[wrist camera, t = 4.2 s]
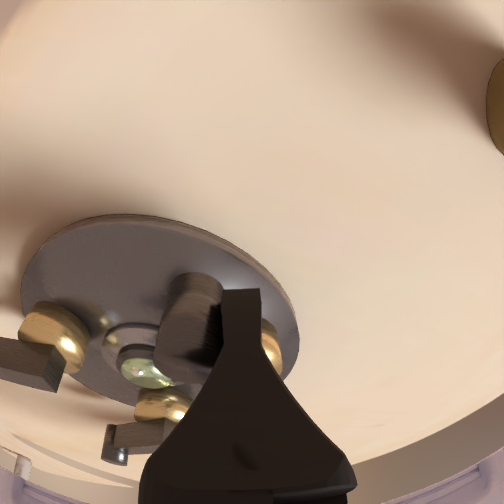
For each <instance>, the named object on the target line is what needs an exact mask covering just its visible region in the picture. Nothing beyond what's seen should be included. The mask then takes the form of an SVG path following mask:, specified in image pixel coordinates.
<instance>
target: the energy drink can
mask: <svg viewBox="0 0 504 504" xmlns="http://www.w3.org/2000/svg"><path fill="white" fill-rule="evenodd" d="M31 465H32V462H31V460H30V459H28V458H26V457H25V456H22V455H20V454H19V455H18V456H17V460H16V465H15V469H14V474H16V475H18V476H20V477H22V478H23V479H25V480H27V481H28V480H29V474H30V469H31Z"/></svg>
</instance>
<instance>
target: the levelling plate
mask: <svg viewBox="0 0 504 504" xmlns="http://www.w3.org/2000/svg"><path fill="white" fill-rule="evenodd" d="M188 272H200V273H204V274H207V275H210V276H212V277H214V278H215V279H217V280H218V281H219V282H220V283H221V284H222V286H223V288H224V289H247V288H260V294H261V301H262V318H263V319H265V320H267V321H269V322H270V323H271V324H272V325H273V326H274V327H275V328H276V330H277V332H278V337H279V344H280V352H281V359H282V372H281V374H280V375H279V376H280V378H281V379H282V381H283V380H284V379H285V378H286V377H287V375H288V374H289V373H290V372H291V370H292V368H293V366H294V364H295V362H296V359H297V356H298V352H299V332H298V327H297V322H296V317H295V312H294V309H293V307H292V305H291V302H290V300H289V297H288V296H287V294H286V293H285V291H284V290H283V288H282V287H281V285H280V283H279V282H278V281H277V280H276V279H275V278H274V277H273V276H272V274H271V273H270V272H269V271H268V270H267V269H266V268H265V267H264V266H262V265H261V264H260V263H259V262H258V261H256V260H255V259H254V258H253V257H252V256H250V255H249V254H247V253H246V252H244V251H243V250H241V249H240V248H238V247H236V246H235V245H233V244H232V243H230V242H228V241H226V240H224V239H222V238H220V237H218V236H216V235H214V234H212V233H210V232H208V231H205V230H202V229H199V228H196V227H193V226H191V225H188V224H185V223H182V222H178V221H173V220H169V219H164V218H160V217H155V216H144V215H134V214H121V215H105V216H99V217H94V218H88V219H85V220H82V221H79V222H76V223H74V224H71V225H68V226H67V227H65V228H63V229H62V230H60V231H58V232H56V233H55V234H54V235H52V236H51V237H50V238H49V239H48V240H47V241H46V242H45V243H44V244H43V245H42V246H41V248H40V249H39V250H38V251H37V253H36V254H35V255H34V257H33V258H32V260H31V261H30V263H29V264H28V266H27V268H26V270H25V273H24V275H23V279H22V285H21V303H22V309H23V313H24V316H25V317H26V315H27V314H28V312H29V310H30V308H31V306H32V305H33V304H34V303H36V302H38V301H49V302H53V303H56V304H58V305H60V306H62V307H64V308H66V309H68V310H69V311H71V312H72V313H73V314H75V315H76V316H77V317H78V318H79V319H80V320H81V321H82V322H83V323H84V324H85V326H86V327H87V329H88V331H89V333H90V343H89V346H88V349H87V352H86V355H85V358H84V361H83V364H82V367H81V369H80V371H78V372H77V373H72V374H69V375H70V376H71V377H73V378H74V379H76V380H77V381H79V382H80V383H82V384H83V385H85V386H87V387H88V388H90V389H92V390H94V391H96V392H98V393H100V394H102V395H104V396H106V397H109V398H111V399H113V400H116V401H119V402H122V403H125V404H127V405H131V406H135V407H136V402H137V397H138V392H139V391H140V390H141V389H142V388H145V387H146V388H155V389H156V388H163V387H168V388H172V389H176V390H179V391H182V392H184V393H186V394H188V395H189V396H190V397H192V398H193V400H195V398H196V397H197V395H198V393H199V392H200V390H201V388H202V385H201V384H200V383H199V384H191V383H183V382H178V381H175V380H172V379H170V378H168V377H166V376H164V375H162V374H161V373H160V372H159V371H158V370H157V369H156V368H155V366H154V364H153V355H154V350H155V344H156V340H157V335H158V330H159V325H160V321H161V316H162V311H163V307H164V303H165V298H166V294H167V290H168V286H169V284H170V282H171V281H172V280H173V279H174V278H175V277H176V276H178V275H180V274H183V273H188ZM67 374H68V373H67Z"/></svg>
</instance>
